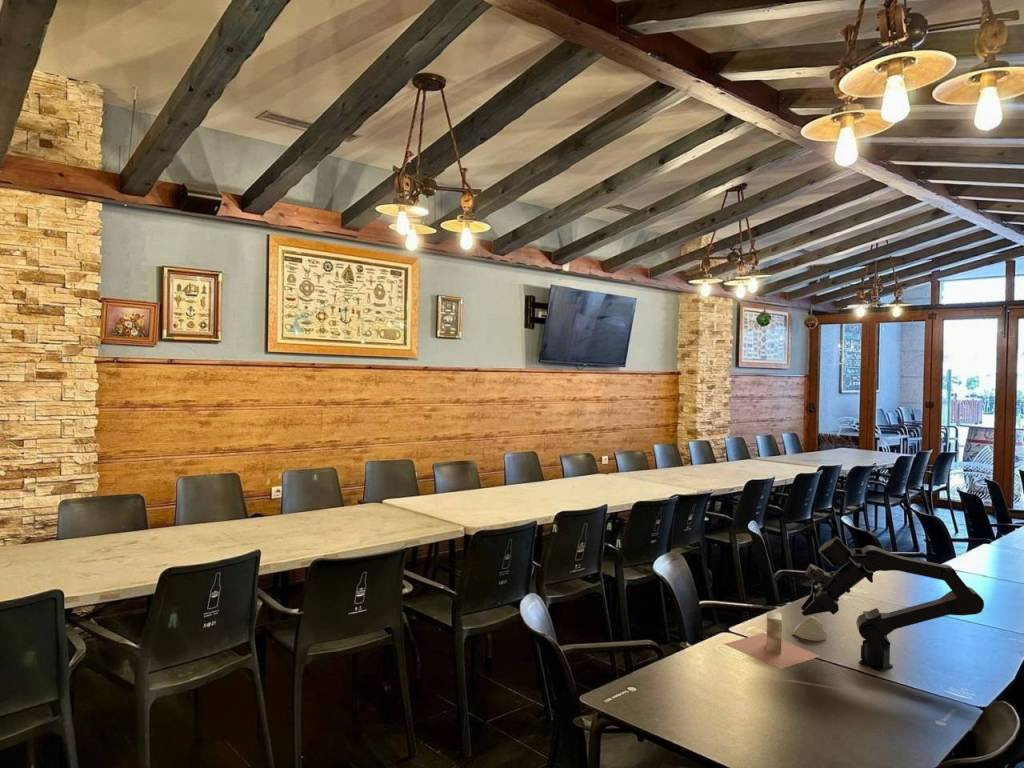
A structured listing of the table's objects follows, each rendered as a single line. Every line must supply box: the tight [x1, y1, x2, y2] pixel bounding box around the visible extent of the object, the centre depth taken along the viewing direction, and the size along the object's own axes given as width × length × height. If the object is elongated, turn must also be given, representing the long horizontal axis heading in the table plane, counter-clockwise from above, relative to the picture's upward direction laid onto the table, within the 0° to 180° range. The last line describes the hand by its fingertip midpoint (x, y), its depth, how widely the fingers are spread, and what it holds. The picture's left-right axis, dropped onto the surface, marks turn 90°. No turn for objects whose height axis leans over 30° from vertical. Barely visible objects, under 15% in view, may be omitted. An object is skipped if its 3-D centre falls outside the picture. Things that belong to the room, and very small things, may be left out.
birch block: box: [766, 611, 783, 654], centre depth 203 cm, size 4×6×10 cm, turn 160°
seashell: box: [792, 615, 828, 642], centre depth 213 cm, size 8×8×8 cm
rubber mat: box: [724, 632, 821, 670], centre depth 202 cm, size 20×18×1 cm
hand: (802, 611), depth 200 cm, fingers open, 4 cm apart
